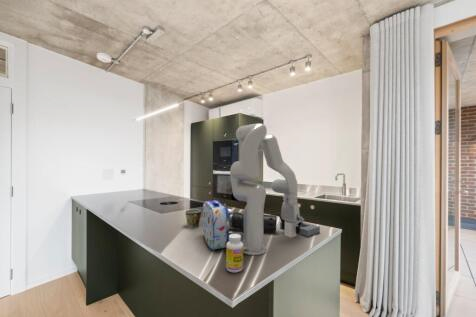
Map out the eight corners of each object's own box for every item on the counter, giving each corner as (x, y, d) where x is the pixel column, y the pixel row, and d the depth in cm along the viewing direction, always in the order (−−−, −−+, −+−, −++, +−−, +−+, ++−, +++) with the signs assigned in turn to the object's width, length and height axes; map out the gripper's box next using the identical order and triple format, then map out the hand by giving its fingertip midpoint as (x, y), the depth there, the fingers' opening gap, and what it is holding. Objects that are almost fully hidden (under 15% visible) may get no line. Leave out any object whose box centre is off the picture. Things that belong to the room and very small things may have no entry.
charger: (291, 237, 119) (291, 222, 119) (284, 235, 122) (284, 221, 122) (296, 236, 121) (296, 221, 122) (289, 233, 125) (289, 219, 125)
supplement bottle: (232, 275, 79) (232, 240, 79) (222, 267, 84) (223, 235, 85) (246, 269, 83) (246, 236, 83) (236, 263, 88) (236, 232, 89)
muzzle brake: (275, 235, 122) (275, 217, 122) (228, 231, 128) (228, 213, 129) (276, 230, 132) (276, 213, 132) (232, 226, 138) (232, 210, 138)
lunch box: (234, 252, 99) (234, 204, 99) (212, 255, 95) (212, 206, 96) (218, 233, 125) (218, 195, 125) (200, 235, 121) (200, 196, 121)
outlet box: (307, 237, 119) (307, 230, 119) (280, 228, 134) (280, 222, 134) (319, 233, 126) (319, 226, 126) (292, 225, 142) (292, 219, 142)
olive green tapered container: (183, 225, 140) (183, 210, 140) (198, 223, 144) (198, 208, 144) (187, 231, 128) (188, 214, 128) (204, 229, 133) (204, 213, 133)
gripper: (274, 199, 127) (274, 228, 127) (299, 204, 113) (299, 236, 113) (283, 197, 131) (283, 225, 131) (307, 202, 118) (307, 233, 118)
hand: (290, 230), depth 122 cm, fingers open, 9 cm apart
